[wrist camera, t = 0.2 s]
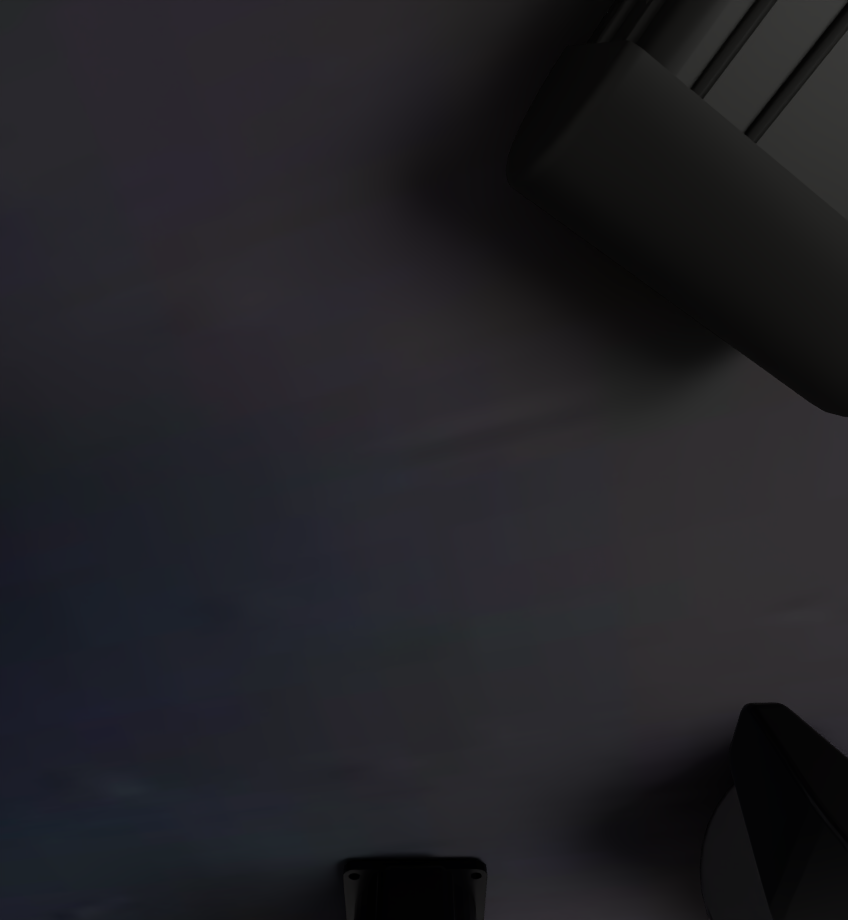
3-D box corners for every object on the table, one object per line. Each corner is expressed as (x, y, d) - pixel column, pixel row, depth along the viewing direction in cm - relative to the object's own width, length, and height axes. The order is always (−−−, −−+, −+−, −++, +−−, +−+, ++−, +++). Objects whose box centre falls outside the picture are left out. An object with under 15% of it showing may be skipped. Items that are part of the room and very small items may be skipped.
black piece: (487, 159, 19) (518, 203, 13) (672, -128, 16) (821, -237, 10) (758, 356, 22) (886, 467, 16) (958, 140, 19) (1206, 177, 13)
